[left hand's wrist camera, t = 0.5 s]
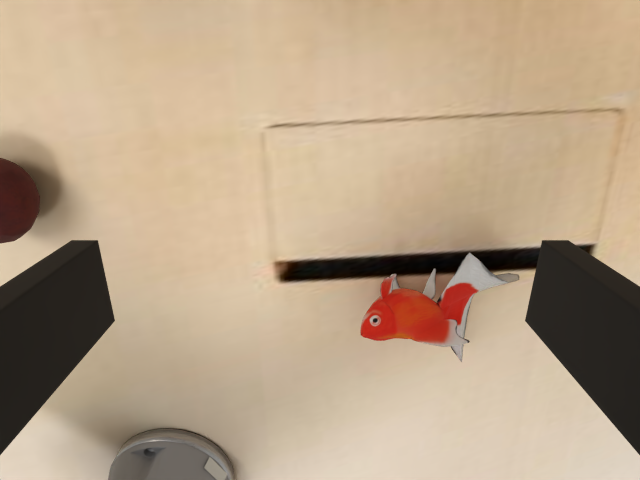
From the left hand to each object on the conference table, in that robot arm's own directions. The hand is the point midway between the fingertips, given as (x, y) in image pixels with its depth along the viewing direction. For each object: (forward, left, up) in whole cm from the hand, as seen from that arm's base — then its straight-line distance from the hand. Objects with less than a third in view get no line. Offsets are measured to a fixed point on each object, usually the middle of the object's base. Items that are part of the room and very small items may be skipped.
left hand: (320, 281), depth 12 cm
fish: (-6, -17, -27) cm, 32 cm away
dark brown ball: (-20, +22, -27) cm, 40 cm away
